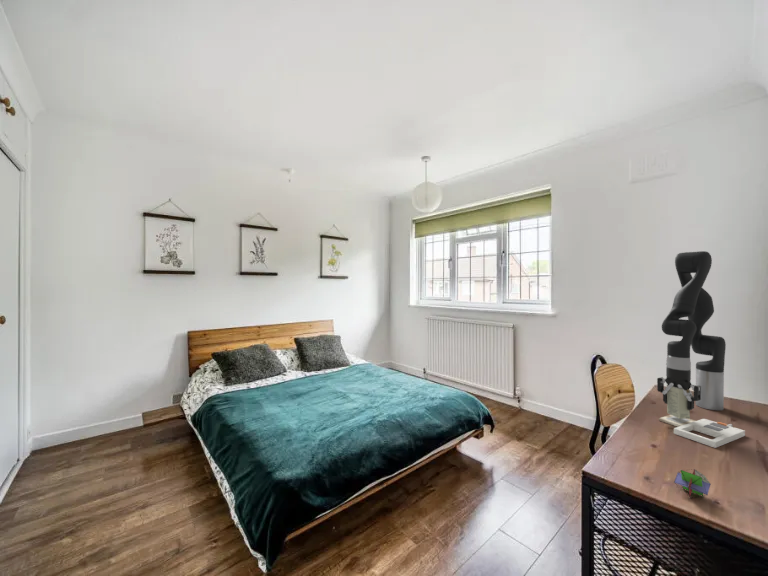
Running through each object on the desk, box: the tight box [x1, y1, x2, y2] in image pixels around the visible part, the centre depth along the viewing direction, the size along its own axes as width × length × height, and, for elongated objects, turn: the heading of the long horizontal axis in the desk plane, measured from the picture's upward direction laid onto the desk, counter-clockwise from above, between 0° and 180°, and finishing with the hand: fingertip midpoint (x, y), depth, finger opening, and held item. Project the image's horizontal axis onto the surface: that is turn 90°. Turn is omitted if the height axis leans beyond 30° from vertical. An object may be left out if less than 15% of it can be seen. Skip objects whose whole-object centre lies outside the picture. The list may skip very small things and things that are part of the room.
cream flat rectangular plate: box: [658, 414, 697, 427], centre depth 135 cm, size 11×8×1 cm
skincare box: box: [666, 384, 691, 419], centre depth 135 cm, size 6×4×12 cm
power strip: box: [673, 418, 746, 449], centre depth 125 cm, size 28×12×3 cm, turn 114°
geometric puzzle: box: [673, 468, 712, 499], centre depth 89 cm, size 7×7×8 cm
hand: (678, 406), depth 135 cm, fingers closed on skincare box, 7 cm apart
